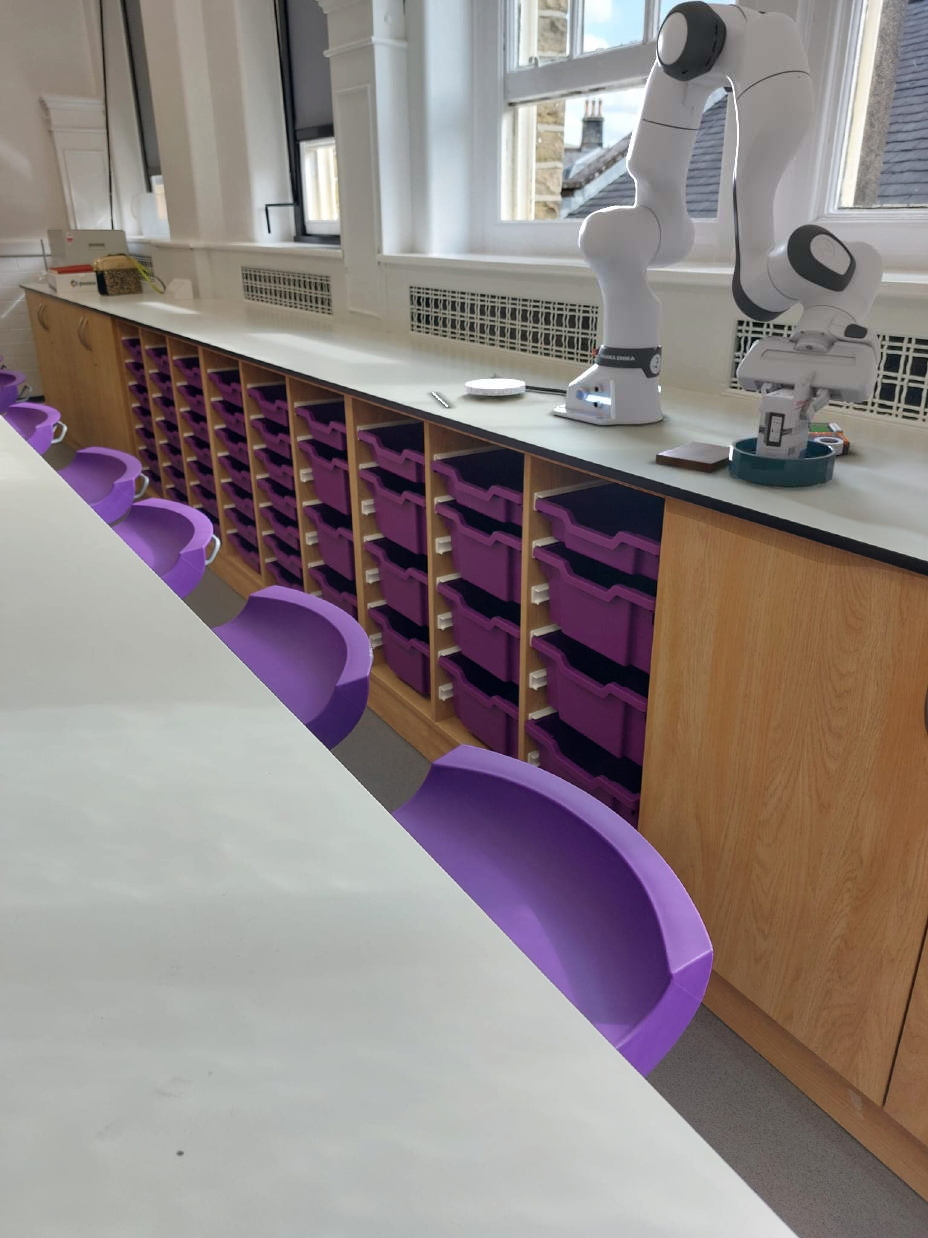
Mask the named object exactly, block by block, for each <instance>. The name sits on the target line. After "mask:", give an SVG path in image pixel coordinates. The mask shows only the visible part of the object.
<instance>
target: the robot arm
mask: <svg viewBox="0 0 928 1238" xmlns="http://www.w3.org/2000/svg"><path fill="white" fill-rule="evenodd" d="M655 44H656V45H655V52H656V54H655V55H656V60H655V62H654V64H653V66H652V68H651V71H650V74H649V77H648V78H647V81H646V84H645V87H644V90H643V93H642V96H641V99H640V102H639V107H638V110H637V114H636V118H635V122H634V125H633V126H634V127H633V131H632V135H631V139H630V142H629V146H628V151H627V156H626V160H625V161H626V162H625V163H626V164H625V165H626V169H627V171H628V173H629V175H630V176H631V178H633V179H634V183H635V202H634V205H622V206H621V205H620V206H619V205H614V206H610V207H606V208H602V209H600V210H597V211H594V212H592V213H591V214H589V215H588V216H587V217H586V218H585V219H584V221H583V222H582V225H581V227H580V230H579V235H578V249H579V252H580V253H579V254H580V255H581V258H582V260H583V261H584V262H585V263H586V265H588V266H589V267H590V269H591V270H592V271H593V273H594V275H595V278H596V280H597V282H598V285H599V288H600V292H601V297H602V303H603V304H602V305H603V330H602V331H603V333H602V334H603V335H602V337H603V338H602V339H603V340H602V344H601V345H600V346H599V347H597V348H594V349H593V348H592V349H590V351H591V352H592V353H591V354H590V356H591V357H592V356H595V359H594V362H593V363H594V364H592V366H590V367H589V368H587V369H586V370H585V371H584V372H582V373H581V374H580V375H578V376H577V377H576V378H574V379H573V380H572V381H571V382H570V383H569V385H568V386H567V389H561V388H553V387H543V386H534V385H528V384H527V385H526V384H525V390H530V391H538V392H545V393H546V392H547V393H555V394H556V393H557V394H564V395H565V398H564V399H565V400H564V404H562V405H559V406H556V407H555V408H554V409H553V415H555V416H559V417H564V418H568V419H573V420H576V421H581V422H584V423H585V422H586V423H589V424H595V425H599V426H611V425H643V424H649V423H657V422H659V421H661V420H663V419H664V417H663V412H662V406H661V398H660V397H661V396H660V393H661V386H660V385H659V383H660V382H659V381H660V379H659V376H660V373H661V367H662V366H661V365H662V354H663V352H662V349H663V347H662V345H661V336H662V335H661V334H662V333H661V332H662V322H663V321H662V320H663V304H662V301H661V299H660V298H659V297H658V296H657V295H656V294H655V293H654V292H653V290H652V288H651V286H650V282H649V281H650V280H649V276H648V270H653V269H655V270H656V269H664V268H666V267H669V266H672V265H675V264H677V263H680V262H681V261H683V260H685V259H686V258H687V257H688V256H689V254H690V252H691V251H692V249H693V246H694V243H695V236H696V231H695V225H694V222H693V220H692V218H691V217H690V214H689V213H688V209H687V199H686V196H687V195H686V193H687V192H686V191H687V188H686V187H687V178H688V172H689V168H690V163H691V160H692V156H693V152H694V149H695V144H696V141H697V138H698V134H699V130H700V126H701V122H702V118H703V114H704V110H705V107H706V104H707V101H708V99H709V97H710V96H711V95H712V94H713V93H715V91H716V90H718V89H721V88H723V90H724V91H725V92H726V93H733V99H734V106H735V113H736V124H737V125H736V127H737V140H736V141H737V142H736V143H737V144H736V145H737V146H736V155H735V163H734V167H733V173H732V174H733V175H732V207H733V210H732V211H733V225H734V226H733V227H734V247H735V261H734V269H733V273H732V279H731V292H732V297H733V300H734V303H735V305H736V307H737V308H738V309H739V310H740V312H742V314H743V315H745V316H746V317H747V318H749V319H752V320H754V321H756V322H761V323H767V322H772V321H775V320H776V319H777V318H779V317H780V316H781V315H783V314H784V313H785V312H787V311H789V309H790V308H792V307H793V306H795V305H797V304H801V306H802V308H803V312H802V313H801V316H800V317H799V320H798V322H797V324H796V326H795V327H794V329H793V332H792V333H791V335H790V337H788V336H787V337H786V336H780V337H779V336H773V335H766V336H764V338H760V339H757V340H755V341H754V342H753V343H752V345H751V347H750V348H749V350H748V352H747V353H746V355H745V356H744V358H743V359H742V361H741V362H740V364H739V365H738V367H737V368H736V373H735V374H736V378H737V379H736V380H737V381H738V383H739V385H740V387H741V388H742V389H743V390H747V391H754V392H761V396H763V395H766V394H769V393H772V392H774V391H777V390H780V389H782V388H785V387H786V388H794V387H795V379H796V377H797V376H800V375H803V374H806V373H808V372H812V371H814V370H815V372H814V374H813V377H812V379H811V382H810V387H813V388H814V395H813V398H814V401H812V402H811V403H810V404H803V406H802V410H801V411H800V417H801V419H802V420H808V421H810V422H812V421H813V419H814V416H815V414H816V413H817V412H819V411H820V410H822V409H823V408H824V407H826V406H828V405H829V402H830V401H838V402H839V401H840V402H847V403H854V404H862V403H864V402H865V401H867V400H868V399H869V398H870V397H871V395H872V393H873V391H874V388H875V385H876V382H877V379H878V374H879V372H878V371H879V370H878V366H879V364H880V362H881V358H882V354H881V352H882V351H881V346H880V341H879V337H878V335H877V333H876V330H874V328H870V327H868V326H866V325H862V324H861V323H862V321H863V320H864V319H865V318H866V316H868V314H869V312H870V310H871V308H872V306H873V304H874V302H875V299H876V298H877V295H878V292H879V290H880V286H881V283H882V280H883V275H884V262H883V258H882V255H881V254H880V253H879V251H878V250H877V249H876V248H875V247H873V246H872V245H870V244H868V243H867V242H864V241H858V240H854V241H846V240H841V239H840V238H838V237H837V236H836V235H835V234H834V233H833V232H831V231H830V230H829V229H827V228H825V227H823V226H821V225H817V224H810V223H809V224H804V225H800V226H799V227H797V228H796V229H794V230H792V231H791V232H789V233H788V234H786V235H785V236H783V237H782V238H780V239H779V240H778V241H777V242H776V240H775V239H776V237H775V221H774V218H775V217H774V201H775V196H776V195H775V194H776V192H777V188H778V186H779V184H780V182H781V179H782V178H783V175H784V174H785V172H786V170H787V169H788V167H789V166H790V164H791V163H792V161H793V159H794V158H795V156H796V155H797V154H798V152H799V151H800V150H801V149H802V147H803V146H804V144H805V142H806V141H807V139H808V137H809V136H810V133H811V131H812V129H813V126H814V122H815V108H816V101H815V92H814V87H813V80H812V74H811V68H810V65H809V59H808V56H807V53H806V50H805V46H804V43H803V40H802V37H801V35H800V31H799V30H798V27H797V24H796V22H795V20H794V19H793V18H792V17H791V16H790V15H788V14H787V13H784V12H779V11H770V12H767V11H757V10H755V9H752V8H749V7H746V6H743V5H738V4H734V3H727V4H726V3H715V2H713V3H712V2H711V3H710V2H709V3H708V2H705V1H703V0H689V1H684V2H681V3H678V4H676V5H675V6H673V7H672V8H671V9H670V10H669V11H668V13H667V14H666V16H665V17H664V19H663V20H662V22H661V25H660V27H659V30H658V34H657V36H656V43H655ZM493 379H500V378H499V377H498V373H494V374H493ZM808 384H809V380H807V379H806V380H805V382H803V383H802V386H805V385H808ZM761 405H762V402H761V403H760V404H759V407H758V408H759V409H758V411H759V413H760V414H761Z"/></svg>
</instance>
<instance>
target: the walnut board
mask: <svg viewBox="0 0 928 1238" xmlns="http://www.w3.org/2000/svg"><path fill="white" fill-rule="evenodd" d="M730 447H731V446H725V445H718V444H712V443H705V442H698V441H690V442H688V443H685V444H683V445H679V446H676V447H673V448H670V449H668V450H664V451H662V452H658V453H656V455H655V464H659V465H663V466H670V467H675V468H681V469H686V470H692V471H698V472H704V473H709V474H712V473H713V472H716V471H719V470H721V469H724V468H726V467H728V465H729V456H730Z"/></svg>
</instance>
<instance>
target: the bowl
mask: <svg viewBox="0 0 928 1238" xmlns="http://www.w3.org/2000/svg"><path fill="white" fill-rule="evenodd" d="M757 440H758V436H752V437H745V438H739V439H737V440H735V441H733V442H732V443H731V444H730V446H729V447H730V456H729V465H728V466H727V471H728V473H729V474H730V475H731V476H733V477H734V478H736V479H739V480H741V481H744V482H747V483H749V484H754V485H758V486H764V487H773V488H786V489H787V488H788V489H790V488H791V489H793V488H794V489H796V488H797V489H798V488H807V487H808V488H809V487H814V486H818V485H822V484H826V483H827V482H829V481H832V480H833V479H832V478H833V476H834V469H835V464H836V458H837V455H836V452H837V450H836V449H835V448H834V447H833V446H830V445H828V444H825V443H822V442H818V441H813V440H808V441H807V448H806V454H805V459H785V458H773V457H765V456H759V455H756V448H757Z"/></svg>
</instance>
